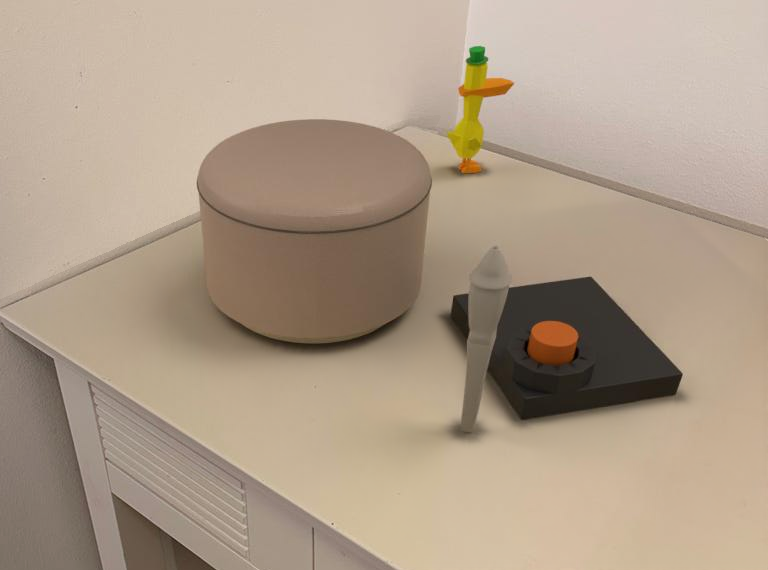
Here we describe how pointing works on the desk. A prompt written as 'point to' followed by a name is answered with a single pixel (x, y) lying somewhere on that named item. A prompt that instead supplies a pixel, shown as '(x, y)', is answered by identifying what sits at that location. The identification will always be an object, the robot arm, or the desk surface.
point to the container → (314, 228)
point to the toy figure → (474, 108)
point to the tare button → (552, 343)
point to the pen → (483, 327)
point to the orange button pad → (592, 354)
